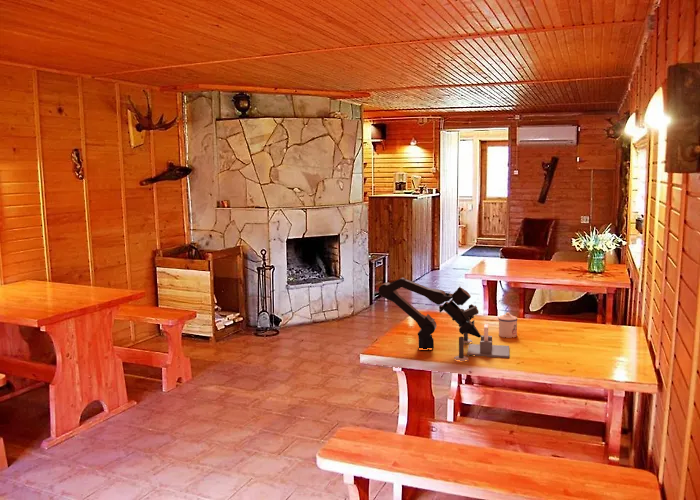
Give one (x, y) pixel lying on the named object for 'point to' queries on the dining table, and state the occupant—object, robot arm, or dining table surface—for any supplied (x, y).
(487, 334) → the block
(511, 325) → the teacup with lid
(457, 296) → the robot arm
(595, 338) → the dining table surface
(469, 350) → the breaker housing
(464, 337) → the post
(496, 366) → the dining table surface
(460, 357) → the post
